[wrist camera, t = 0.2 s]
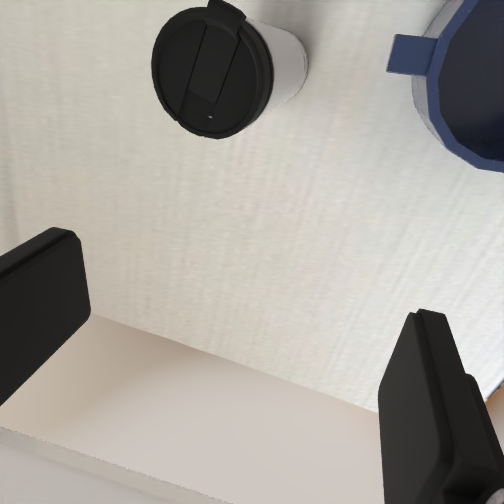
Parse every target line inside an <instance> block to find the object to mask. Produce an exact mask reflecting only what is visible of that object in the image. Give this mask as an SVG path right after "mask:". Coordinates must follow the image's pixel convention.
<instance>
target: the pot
mask: <svg viewBox="0 0 504 504" xmlns="http://www.w3.org/2000/svg"><path fill="white" fill-rule="evenodd" d="M386 72H389V73H397V74H406V75H411V76H412V92H413V98H414V105H415V108H416V109H417V111H418V113H419V114H420V116H421V118H422V120H423V121H424V123H425V124H426V126H427V128H428V129H429V131H430V132H431V133H432V134H433V135H434V136H435V137H436V138H437V139H438V140H439V141H440V142H441V143H442V144H443V145H444V147H445V148H446V149H447V150H449V151H450V152H452V153H453V154H455V155H457V156H458V157H460V158H461V159H463V160H464V161H466V162H468V163H469V164H471V165H472V166H474V167H475V168H478V169H483V170H489V171H496V172H502V173H504V0H450V1H449V2H448V3H447V4H446V5H445V6H444V7H443V8H442V10H441V11H440V13H439V14H438V15H437V16H436V18H435V19H434V20H433V22H432V23H431V25H430V26H429V28H428V30H427V31H426V33H425V34H424V36H423V37H420V36H411V35H401V34H396V35H395V36H394V39H393V43H392V47H391V51H390V55H389V59H388V63H387V67H386Z"/></svg>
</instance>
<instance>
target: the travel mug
mask: <svg viewBox="0 0 504 504" xmlns="http://www.w3.org/2000/svg"><path fill="white" fill-rule="evenodd" d="M151 69H152V79H153V84H154V88H155V91H156V94H157V96H158V99H159V101H160V103H161V104H162V106H163V108H164V110H165V111H166V112H167V113H168V114H169V115H170V116H171V117H172V118H173V119H174V120H175V121H178V123H179V124H180V125H181V126H182V127H183V128H185V129H186V130H188V131H189V132H191V133H193V134H195V135H198V136H204V137H207V138H213V139H223V138H227V137H230V136H232V135H234V134H236V133H238V132H240V131H241V130H243V129H245V128H247V127H249V126H250V125H252V124H253V123H255V122H256V121H258V120H259V119H261V118H262V117H264V116H265V115H267V114H268V113H270V112H271V111H272V110H274V109H275V108H277V107H278V106H280V105H281V104H283V103H284V102H286V101H287V100H289V99H290V98H292V97H293V96H294V95H296V94H297V92H298V91H299V90H300V89H301V88H302V86H303V84H304V82H305V80H306V77H307V73H308V57H307V53H306V50H305V48H304V46H303V44H302V43H301V41H300V40H299V39H298V38H297V37H296V36H295V35H293V34H292V33H290V32H288V31H285V30H282V29H279V28H276V27H273V26H270V25H267V24H264V23H261V22H258V21H255V20H252V19H249V18H246V16H245V14H244V13H243V12H242V11H241V10H239V9H238V8H236V7H234V6H233V5H231V4H229V3H227V2H225V1H223V0H209V2H208V5H207V7H195V8H189V9H186V10H184V11H181V12H179V13H177V14H176V15H175V16H173V17H172V18H170V19H169V20H168V22H167V23H166V24H165V25H164V26H163V27H162V29H161V31H160V33H159V34H158V36H157V38H156V41H155V44H154V48H153V52H152V60H151Z"/></svg>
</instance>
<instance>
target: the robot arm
mask: <svg viewBox="0 0 504 504" xmlns="http://www.w3.org/2000/svg"><path fill="white" fill-rule="evenodd" d="M90 312H91V307H90V300H89V294H88V287H87V280H86V273H85V267H84V260H83V253H82V247H81V241H80V239H79V238H78V237H77V236H76V234H75V232H73V231H70V230H66V229H61V228H57V227H52V228H49V229H48V230H46V231H44V232H42V233H41V234H39V235H37V236H35V237H34V238H32V239H30V240H28V241H26V242H25V243H23V244H21V245H19V246H18V247H16V248H14V249H12V250H11V251H9V252H7V253H5V254H4V255H2V256H0V406H1V405H2V404H3V403H4V402H5V401H6V400H7V399H8V398H9V397H10V396H11V395H12V394H13V393H14V392H15V391H16V390H17V389H18V388H19V387H20V386H21V385H22V384H23V383H24V382H25V381H26V380H27V379H28V378H29V377H31V375H33V374H34V372H36V371H37V369H39V367H40V366H41V365H43V364H44V363H45V362H46V361H47V360H48V359H49V358H50V357H51V356H52V355H53V354H54V353H55V352H56V350H58V349H59V348H60V347H61V346H62V345H63V344H64V343H65V342H66V340H68V339H69V338H70V337H71V336H72V335H73V334H74V333H75V332H76V331H77V330H78V329H79V328H80V327H81V326H82V325H83V324H84V323H85V322H86V321H87V320H88V318H89V316H90ZM378 407H379V422H380V439H381V454H382V470H383V485H384V501H385V504H504V455H503V452H502V449H501V447H500V444H499V441H498V438H497V436H496V433H495V431H494V428H493V425H492V422H491V419H490V417H489V414H488V411H487V409H486V406H485V403H484V400H483V398H482V395H481V392H480V390H479V387H478V384H477V382H476V380H475V378H474V377H473V376H472V375H470V374H466V373H465V370H464V368H463V365H462V362H461V359H460V356H459V353H458V350H457V347H456V344H455V341H454V338H453V335H452V333H451V330H450V327H449V324H448V321H447V318H446V316H445V314H443V313H438V312H434V311H429V310H425V309H419V310H418V311H417V313H412V312H410V313H409V314H408V316H407V318H406V321H405V323H404V326H403V328H402V331H401V333H400V336H399V338H398V341H397V343H396V346H395V348H394V351H393V353H392V356H391V358H390V361H389V363H388V366H387V368H386V371H385V373H384V376H383V378H382V381H381V383H380V386H379V391H378ZM0 504H231V503H228V502H225V501H222V500H219V499H216V498H213V497H210V496H207V495H204V494H201V493H198V492H195V491H192V490H190V489H187V488H184V487H181V486H177V485H175V484H172V483H169V482H166V481H163V480H160V479H157V478H154V477H151V476H148V475H145V474H142V473H139V472H136V471H133V470H130V469H127V468H124V467H121V466H118V465H115V464H112V463H109V462H106V461H103V460H100V459H97V458H94V457H91V456H88V455H85V454H82V453H79V452H76V451H73V450H70V449H67V448H64V447H61V446H58V445H55V444H52V443H49V442H46V441H43V440H40V439H37V438H34V437H30V436H28V435H25V434H21V433H18V432H16V431H12V430H9V429H6V428H3V427H0Z"/></svg>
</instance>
